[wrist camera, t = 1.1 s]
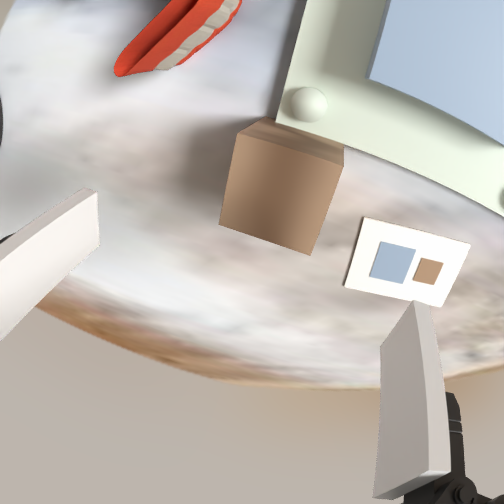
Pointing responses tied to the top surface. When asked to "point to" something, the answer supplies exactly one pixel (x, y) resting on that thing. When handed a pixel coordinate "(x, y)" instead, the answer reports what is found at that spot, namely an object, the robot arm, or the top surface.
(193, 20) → the toy
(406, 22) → the base brick
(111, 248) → the top surface
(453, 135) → the build plate
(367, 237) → the page
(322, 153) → the walnut block
